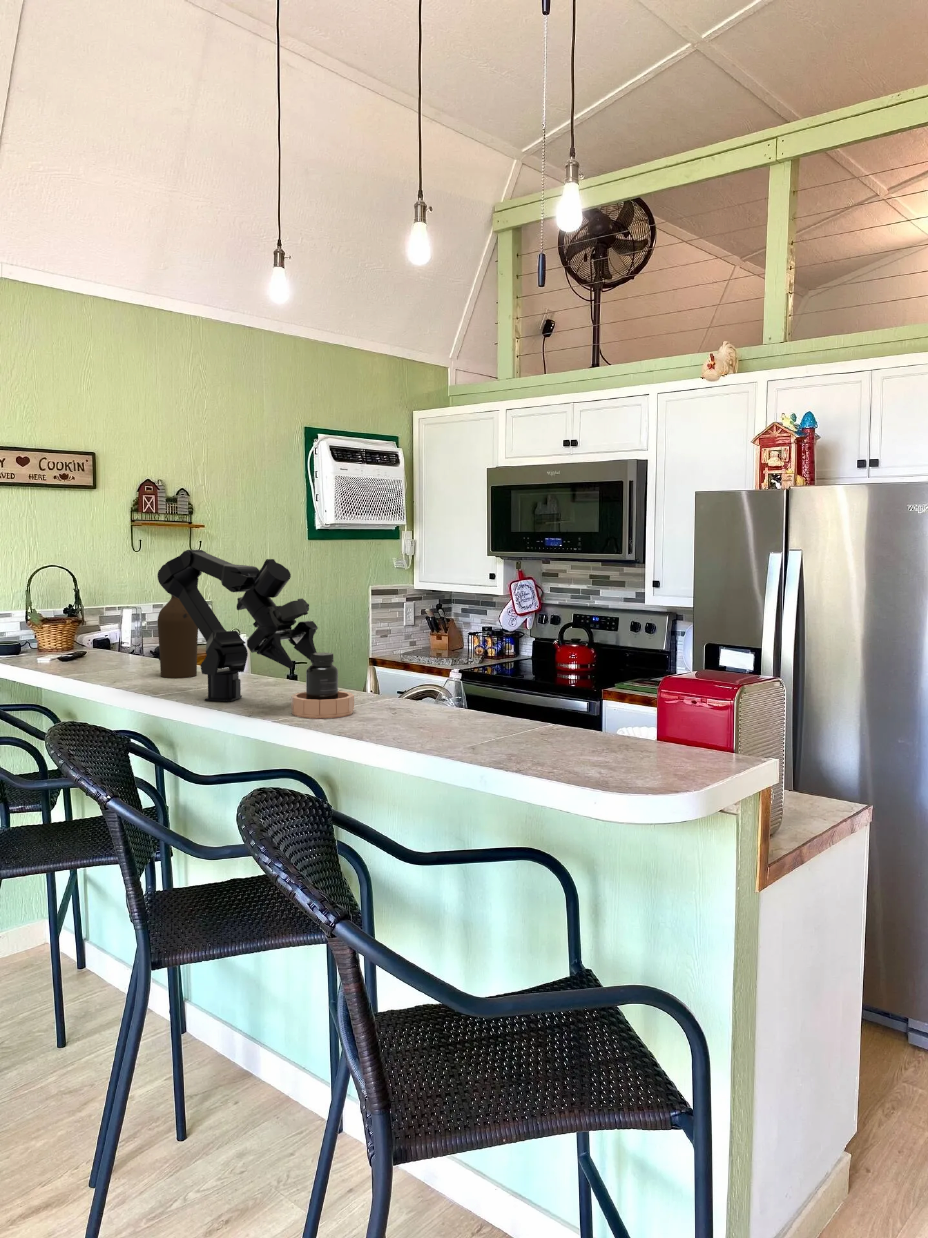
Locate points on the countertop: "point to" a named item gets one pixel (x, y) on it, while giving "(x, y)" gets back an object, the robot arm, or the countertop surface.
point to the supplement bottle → (322, 677)
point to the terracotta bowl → (322, 706)
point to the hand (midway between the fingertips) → (305, 664)
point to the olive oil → (177, 641)
